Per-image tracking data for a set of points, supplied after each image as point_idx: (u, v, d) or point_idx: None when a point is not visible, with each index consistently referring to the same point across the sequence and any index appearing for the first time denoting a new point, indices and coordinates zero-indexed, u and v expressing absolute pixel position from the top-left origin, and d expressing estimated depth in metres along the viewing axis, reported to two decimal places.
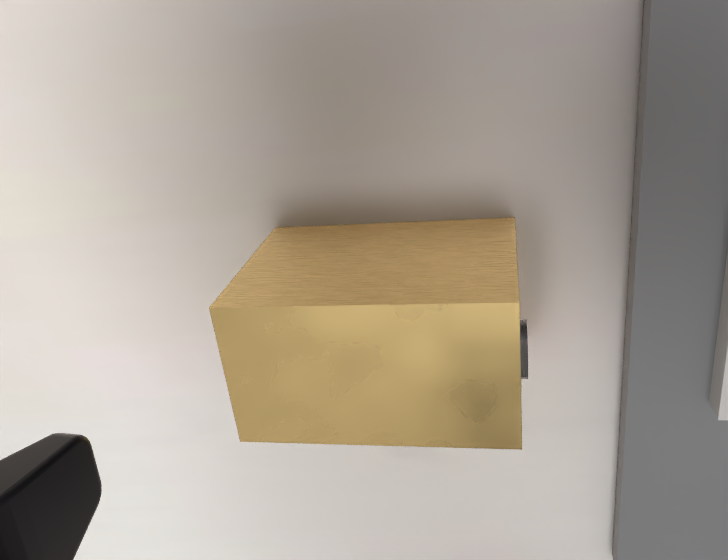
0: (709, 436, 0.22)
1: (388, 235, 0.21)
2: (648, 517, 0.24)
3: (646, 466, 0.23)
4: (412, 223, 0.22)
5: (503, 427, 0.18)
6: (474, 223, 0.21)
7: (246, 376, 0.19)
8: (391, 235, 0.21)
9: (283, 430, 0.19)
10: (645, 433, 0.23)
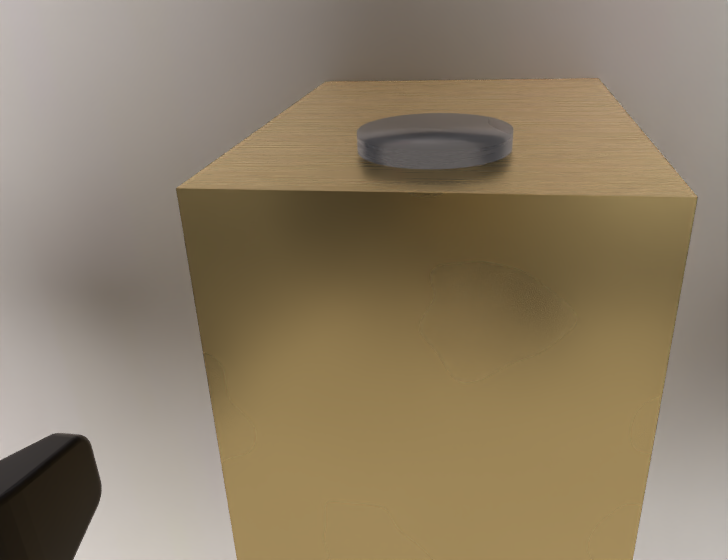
0: None
1: None
2: None
3: None
4: None
5: (598, 247, 0.06)
6: None
7: None
8: None
9: None
10: None
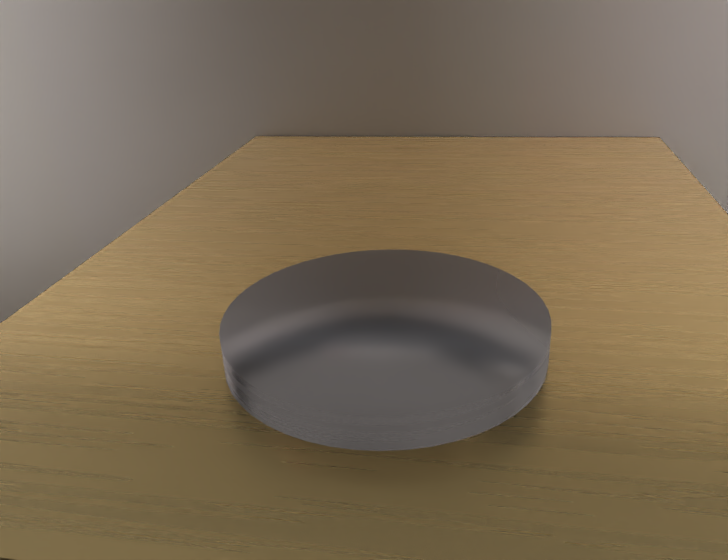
0: None
1: None
2: None
3: None
4: None
5: None
6: None
7: None
8: None
9: None
10: None
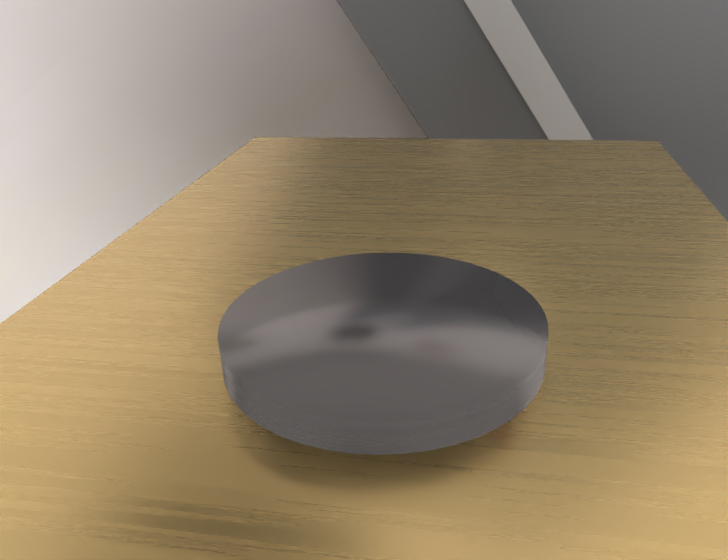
0: None
1: None
2: None
3: None
4: None
5: None
6: None
7: None
8: None
9: None
10: None
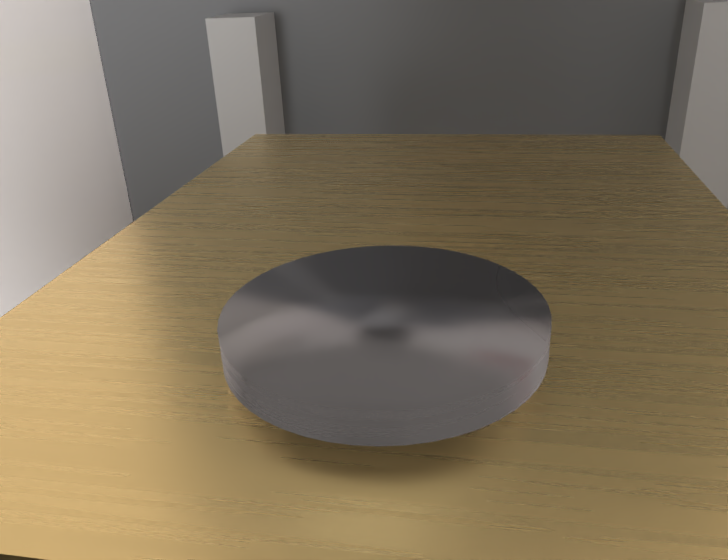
0: None
1: None
2: None
3: None
4: None
5: None
6: None
7: None
8: None
9: None
10: None
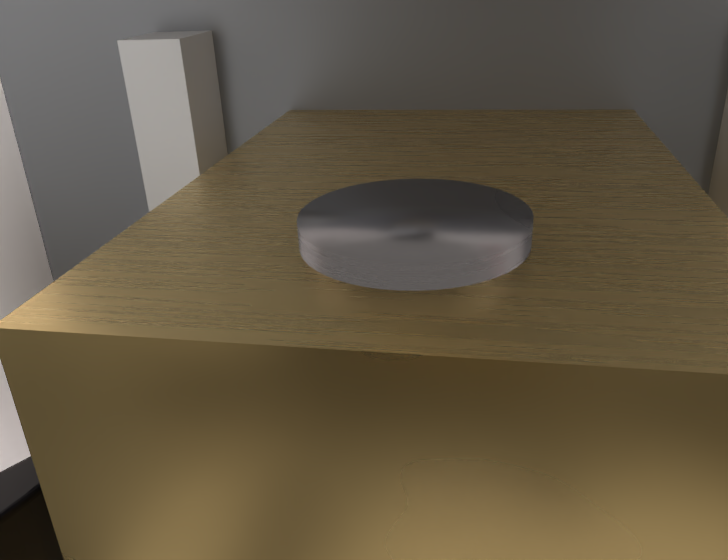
0: None
1: None
2: None
3: None
4: None
5: (685, 452, 0.03)
6: None
7: None
8: None
9: None
10: None
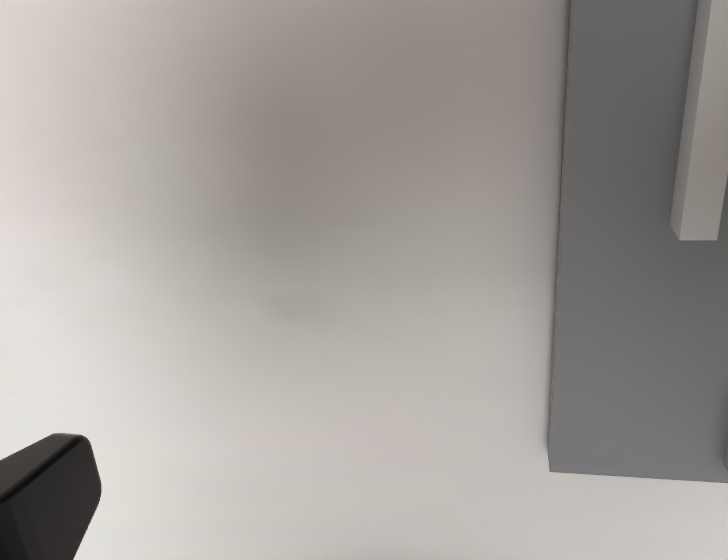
0: (669, 276, 0.17)
1: None
2: (589, 393, 0.19)
3: (587, 321, 0.18)
4: None
5: None
6: None
7: None
8: None
9: None
10: (586, 273, 0.17)
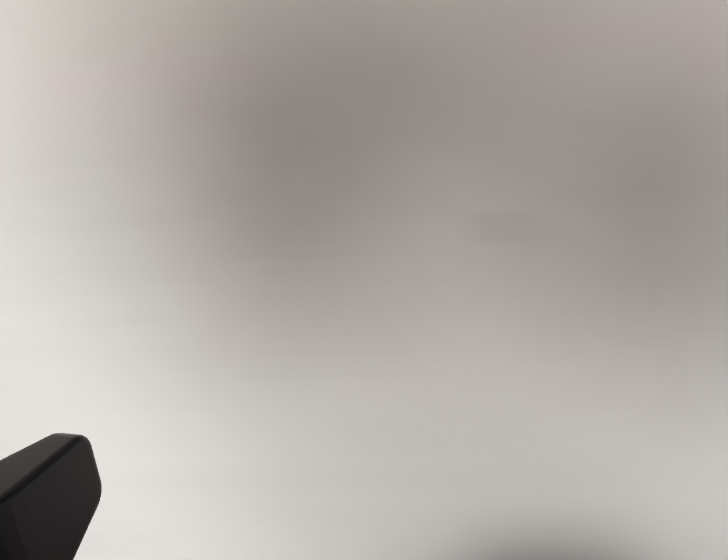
0: None
1: None
2: None
3: None
4: None
5: None
6: None
7: None
8: None
9: None
10: None
